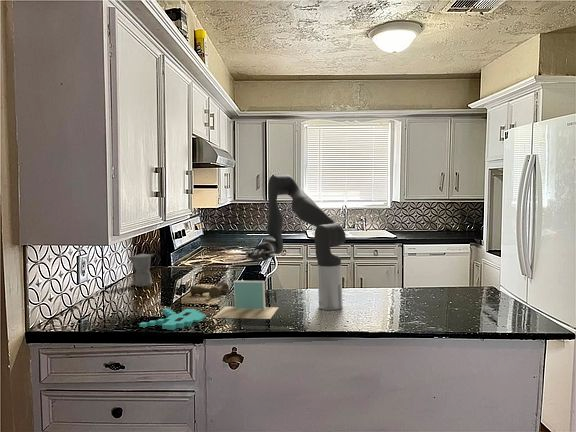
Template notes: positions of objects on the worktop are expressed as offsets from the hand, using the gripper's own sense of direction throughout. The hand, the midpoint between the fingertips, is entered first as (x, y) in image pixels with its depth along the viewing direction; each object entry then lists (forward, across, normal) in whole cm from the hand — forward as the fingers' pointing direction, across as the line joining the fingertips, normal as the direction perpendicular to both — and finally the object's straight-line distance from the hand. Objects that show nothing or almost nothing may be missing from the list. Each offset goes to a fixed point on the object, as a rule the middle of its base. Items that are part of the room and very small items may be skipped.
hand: (254, 257), depth 189 cm
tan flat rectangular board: (+15, 0, +20) cm, 25 cm away
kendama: (-13, -24, +20) cm, 34 cm away
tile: (+10, 0, +18) cm, 21 cm away
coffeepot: (-34, -68, +20) cm, 79 cm away
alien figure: (+25, -24, +20) cm, 40 cm away
